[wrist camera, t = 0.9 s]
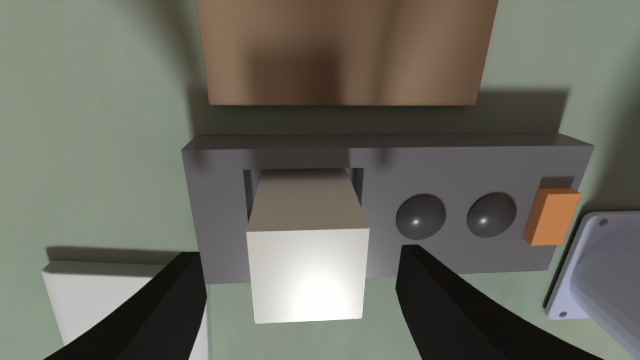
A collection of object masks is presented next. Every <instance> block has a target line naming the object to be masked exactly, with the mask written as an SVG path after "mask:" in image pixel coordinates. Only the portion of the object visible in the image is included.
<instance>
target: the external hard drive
mask: <svg viewBox="0 0 640 360" xmlns="http://www.w3.org/2000/svg"><path fill="white" fill-rule="evenodd" d="M166 266H167V265H157V264H132V263H106V262H83V261H60V260H52V261H51V262H50V263H49V264H48V265H47V266H46V267H45V268H44V269H43V270H42V275H43V278H44V281H45V284H46V288H47V291H48V294H49V297H50V301H51V304H52V307H53V310H54V313H55V317H56V320H57V323H58V326H59V330H60V333H61V336H62V339H63V343H64V346H66V345H67V344H69V343H70V342H72V341H73V340H75V339H76V338H77V337H79V336H80V335H82V334H83V333H85V332H86V331H88V330H89V329H90V328H92V327H93V326H94V325H96V324H97V323H99V322H100V321H101V320H103V319H104V318H105V317H107V316H108V315H109V314H110V313H112V312H113V311H114V310H115V309H116V308H118V307H119V306H120V305H121V304H123V303H124V302H125V301H126V300H128V299H129V298H130V297H131V296H133V295H134V294H135V293H136V292H137V291H139V290H140V289H141V288H142V287H143V286H144V285H145V284H146V283H148V282H149V281H150V280H151V279H152V278H153V277H154V276H156V275H157V274H158V273H159V272H160V271H161V270H162V269H163V268H164V267H166ZM205 286H206V292H207V301H206V305H205V310H204V314H203V318H202V323H201V326H200V329H199V332H198V335H197V338H196V340H195V343H194V346H193V349H192V352H191V354H190V357H189V360H212V350H211V323H210V297H209V284H205Z"/></svg>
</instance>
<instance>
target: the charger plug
mask: <svg viewBox="0 0 640 360" xmlns="http://www.w3.org/2000/svg"><path fill="white" fill-rule="evenodd" d="M369 230H370V228H369V226H368V223H367V221H366V218H365V216H364V213H363V211H362V208H361V206H360V203H359V201H358V198H357V196H356V193H355V191H354V188H353V185H352V183H351V180H350V178H349V175H348V173H347V170H346V168H315V169H262V173H261V177H260V181H259V185H258V188H257V192H256V196H255V200H254V204H253V208H252V212H251V215H250V219H249V223H248V227H247V231H246V236H247V246H248V256H249V266H250V277H251V287H252V297H253V307H254V317H255V324H258V323H278V322H298V321H319V320H339V319H359V318H362V309H363V298H364V286H365V275H366V264H367V252H368V241H369Z"/></svg>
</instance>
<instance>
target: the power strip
mask: <svg viewBox="0 0 640 360" xmlns="http://www.w3.org/2000/svg"><path fill="white" fill-rule="evenodd" d="M594 146H595V145H592V144H589V143H586V142H583V141H580V140H578V139H575V138H572V137H569V136H566V135H563V134H560V133H465V134H344V135H222V136H196V137H194V138H193V139H192V140H191V141H190V142H189V143H188V144H187V145H186V146H185V147H184V148H183V149H182V150H181V152H182V157H183V163H184V169H185V175H186V180H187V186H188V192H189V197H190V203H191V209H192V215H193V220H194V226H195V232H196V238H197V243H198V249H199V252H200V256H201V262H202V268H203V274H204V280H205V284H226V283H250V282H251V277H250V266H249V256H248V246H247V236H246V231H247V227H248V223H249V219H250V215H251V212H252V208H253V204H254V200H255V196H256V192H257V188H258V185H259V181H260V177H261V173H262V169H315V168H346V170H347V173H348V175H349V178H350V180H351V183H352V185H353V188H354V191H355V193H356V196H357V198H358V201H359V203H360V206H361V208H362V211H363V213H364V216H365V218H366V221H367V223H368V226H369V228H370V230H369V241H368V252H367V264H366V275H365V278H373V277H397V274H398V267H399V261H400V254H401V247H402V245H410V244H418V245H420V246H421V247H423V248H424V249H425V250H427V251H428V252H429V253H430V254H432V255H433V256H434V257H435V258H437V259H438V260H439V261H440V262H442V263H443V264H444V265H445V266H447V267H448V268H449V269H451V270H452V271H453V272H454V273H456V274H470V273H495V272H519V271H544V270H548V267H549V264H550V262H551V259H552V257H553V254H554V251H555V249H556V246H557V245H562V242H563V239H564V237H565V234H566V232H567V229H568V227H569V224H570V221H571V219H572V216H573V214H574V211H575V208H576V206H577V203H578V201H579V198H580V196H581V193H579V192H577V191H578V188H579V186H580V183H581V180H582V178H583V175H584V172H585V170H586V167H587V165H588V162H589V159H590V157H591V154H592V151H593V149H594Z"/></svg>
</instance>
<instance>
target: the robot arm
mask: <svg viewBox="0 0 640 360" xmlns="http://www.w3.org/2000/svg"><path fill="white" fill-rule="evenodd" d="M395 289H396V292H397V296H398V300H399V303H400V306H401V310H402V313H403V316H404V318H405V321H406V323H407V325H408V328H409V330H410V333H411V335H412V337H413V340H414V342H415V344H416V346H417V349H418V351H419V353H420V356H421V358H422V360H604V359H602V358H599V357H597V356H595V355H593V354H590V353H588V352H586V351H584V350H582V349H580V348H578V347H575V346H573V345H571V344H569V343H567V342H565V341H563V340H561V339H559V338H557V337H556V336H554V335H552V334H550V333H548V332H546V331H544V330H542V329H540V328H538V327H537V326H535V325H533V324H531V323H529V322H528V321H526V320H524V319H522V318H521V317H519V316H517V315H516V314H514V313H512V312H511V311H509V310H507V309H506V308H504V307H503V306H501V305H499V304H498V303H496V302H495V301H493V300H492V299H490V298H489V297H487V296H486V295H485V294H483V293H482V292H480V291H479V290H477V289H476V288H474V287H473V286H472V285H470V284H469V283H468V282H466V281H465V280H464V279H462V278H461V277H460V276H458V275H457V274H456V273H454V272H453V271H452V270H451V269H449V268H448V267H447V266H445V265H444V264H443V263H442V262H440V261H439V260H438V259H437V258H435V257H434V256H433V255H432V254H430V253H429V252H428V251H427V250H425V249H424V248H423V247H421V246H420V245H418V244H410V245H402V247H401V254H400V261H399V267H398V274H397V281H396V288H395ZM206 301H207V292H206V286H205V280H204V274H203V268H202V262H201V256H200V252H181V253H180V254H179V255H178V256H177V257H175V258H174V259H173V260H172V261H171V262H170V263H169V264H168V265H167V266H166V267H164V268H163V269H162V270H161V271H160V272H159V273H158V274H157V275H156V276H154V277H153V278H152V279H151V280H150V281H149V282H148V283H146V284H145V285H144V286H143V287H142V288H141V289H140V290H139V291H137V292H136V293H135V294H134V295H133V296H131V297H130V298H129V299H128V300H126V301H125V302H124V303H123V304H121V305H120V306H119V307H118V308H116V309H115V310H114V311H113V312H112V313H110V314H109V315H108V316H107V317H105V318H104V319H103V320H101V321H100V322H99V323H97V324H96V325H94V326H93V327H92V328H90V329H89V330H88V331H86V332H85V333H83V334H82V335H80V336H79V337H77V338H76V339H75V340H73V341H72V342H70V343H69V344H67V345H66V346H64V347H63V348H61V349H60V350H58V351H56V352H55V353H53V354H52V355H50V356H48V357H47V358H45V359H44V360H189V357H190V354H191V352H192V349H193V346H194V343H195V340H196V338H197V335H198V332H199V329H200V326H201V323H202V318H203V314H204V310H205V305H206ZM545 315H546V316H547V317H548V318H549V319H550V320H560V319H580V318H591V319H592V320H593V321H594V322H595V323H597V324H598V325H599V326H600V327H601V328H602V329H603V330H604V331H605V332H606V333H607V334H608V335H609V336H610V337H612V338H613V339H614V340H615V341H616V342H617V343H618V344H619V345H620V346H621V347H622V348H623V349H624V350H625V351H627V352H628V353H629V354H630V355H631V356H632V357H633V358H634V359H635V360H640V211H609V212H590V213H588V214H586V215H585V216H584V217H583V219H582V221H581V223H580V226H579V228H578V230H577V233H576V235H575V238H574V240H573V243H572V245H571V248H570V250H569V253H568V255H567V257H566V260H565V262H564V265H563V267H562V270H561V272H560V275H559V277H558V279H557V282H556V284H555V287H554V289H553V292H552V294H551V297H550V299H549V302H548V304H547V306H546V309H545Z"/></svg>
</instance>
